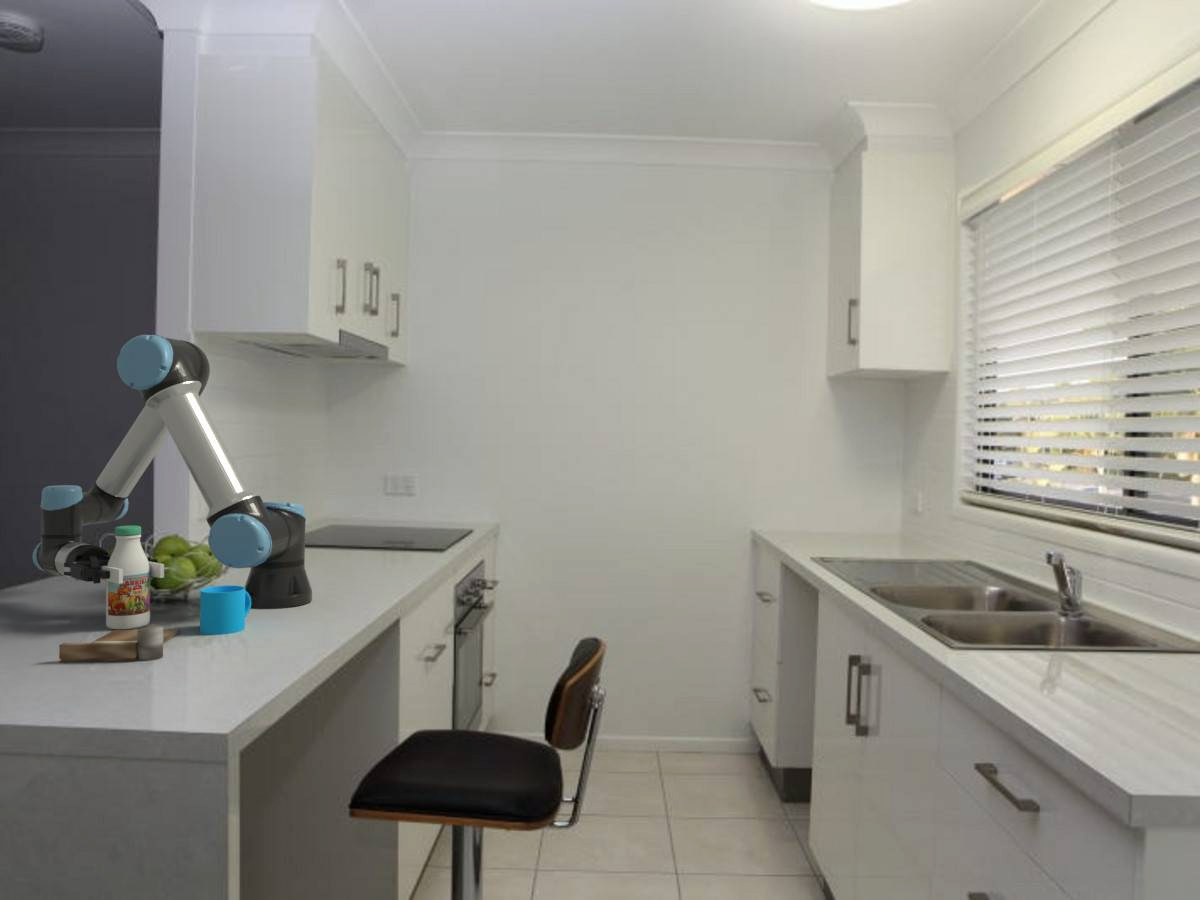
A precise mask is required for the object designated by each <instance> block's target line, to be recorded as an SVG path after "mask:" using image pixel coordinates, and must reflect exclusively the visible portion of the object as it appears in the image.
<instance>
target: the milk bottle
mask: <svg viewBox="0 0 1200 900" xmlns="http://www.w3.org/2000/svg"><path fill="white" fill-rule="evenodd" d="M114 534H115V535H114V538H115V539H116V542H115V546H114V549H113V552H112V553H111V554H110V555H111V557H110V559H109V562H108V565H107V566H109V567H114V568H119V569H123V583H121V584H118V583H113V582H109V581H105V626H106V628H107V629H108V630H109V629H110V630H134V629H139V628H142V627H147V626H148V625H149V624H150V622H151V576H150V568H149V562H148V559H147V557H148V556H147V555H146V554H145V551H144V549H143V546H142V543H141V537H142V527H141V526H140V525H120V526H116V527H115V528H114Z"/></svg>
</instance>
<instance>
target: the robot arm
mask: <svg viewBox="0 0 1200 900" xmlns="http://www.w3.org/2000/svg"><path fill="white" fill-rule="evenodd" d="M116 368H117V369H116V370H117V373H118V375H119V378H120V379H121V380H122V382H123V383H124V384H125V385H127V386H128V387H130V388H131V389H134V390H137V391H138V392H139V393H140V395H141V398H142V399H143V401H144V403H145V406H144V407H143V408H142V410H141V411H140V413H139V415H138V416H137V418H136V419H135V421H134V422H133V424H132V425H131V427H130V428H129V430H128V431H127V433H126V434H125V436H124V438H123V439H122V441H121V442H120V443H119V445H118V447H117V448H116V450H115V452H114V453H113V455H112V456H111V458H110V459H109V461H108V462H107V464H106V465H105V467H104V468H103V470H102V471H101V473H100V474H99V476H98V478H97V479H96V481H95V482H94V483H93V485H92V486H91V488H90V489H89V490H88V491H83V488H82V487H81V486H79V485H74V484H73V485H72V484H71V485H68V484H62V485H59V484H58V485H49V486H48V485H47V486H45V487H43V489H42V491H41V501H40V502H41V503H40V506H39V507H40V534H41V535H40V542H39V543H38V544H37V545H36V546H35V548H34V549H33V552H32V562H33V564H34V565H35V567H36V568H38V570H41V571H43V572H45V573H47V574H49V575H53V576H56V575H57V576H61V577H65V578H71V579H73V580H74V581H75V582H78V581H82V582H87V583H89V582H90V583H91V582H93V584H101V581H105V582H106V581H109V582H113V583H118V584H121V583H123V569H119V568H114V567H109V566H107V565H108V562H109V559H110V557H111V555H112V554H109V553H108V551H107V550H106V549H105V548H103V547H101V546H98V545H94V544H89V543H82V540H83V539H82V536H83V526H91V525H96V524H105V523H106V524H107V523H111V522H114V521H117V520H120V519H121V518H123V517H124V516H125V515H126V513H128V510H129V499H128V497H129V496H130V494H131V493H132V491H133V489H134V487H136V484H137V483H138V482H139V480H140V478H141V477H142V476H143V474H144V473H145V471H146V470H147V468H148V466H149V465H150V464H151V463H152V461H153V459H154V457H155V456H156V455H157V453H158V452H159V450H160V448H161V447H162V446H163V444H164V443H165V442H166V439H167V438H168V437H169V435H170V436H171V438H172V440H173V443H174V444H175V446H176V447H177V450H178V452H179V453H180V455H181V457H182V459H183V460H184V463H185V465H186V467H187V470H189V473H190V474H191V476H192V479H193V481H194V482H195V484H196V486H197V488H198V490H199V492H200V494H201V496H202V497H203V500H204V502H205V503H206V505H207V507H208V512H207V515H206V519H205V520H206V522H207V524H208V526H209V528H210V529H209V533H208V534H209V536H207V537H208V538H207V542H208V543H207V544H208V547H209V550H210V552H211V554H212V555H213V557H215V559H216V560H217V561H218V562H220V563H221V564H222V565H224V566H226V567H229V568H233V569H249V568H250V570H249V573H248V577H247V580H246V582H245V585H244V587H245V591H246V592H247V593H248V594H249V595H250V597H251V608H256V609H257V608H258V609H276V608H277V609H278V608H279V609H281V608H282V609H283V608H289V607H290V608H292V607H297V606H301V605H305V604H308V603H311V602H312V601H313V590H312V587H311V583H310V581H309V580H310V579H309V578H308V574H307V571H306V568H305V567H306V566H305V556H306V554H305V552H306V521H307V517H306V510H305V506H304V505H303V504H301V503H295V502H281V501H263V500H262V497H261V496H260V494H258V493H255V492H251V491H250V489H248V487H247V485H246V483H245V481H244V479H243V477H242V476H241V474H240V472H239V470H238V468H237V465H235V462H234V460H233V458H232V456H231V454H230V452H229V451H228V448H227V446H226V444H225V442H224V441H223V439H222V437H221V435H220V433H219V431H218V429H217V428H216V425H215V424H214V422H213V420H212V418H211V417H210V414H209V412H208V410H207V408H206V407H205V405H204V403H203V401H202V398H201V396H202V394H203V393H204V390H205V389H206V386H207V384H208V381H209V378H210V371H211V369H210V361H209V359H208V356H207V355H206V353H205V352H204V351H203V350H202V349H201V348H200V347H199V346H197V344H195V343H192V342H189V341H186V340H182V339H176V338H175V339H174V338H169V337H164V336H162V335H159V334H141V335H137V336H133V338H131V339H129V340H128V341H127V342H126V343H124V345H123V346H122V347H121V349H120V351H119V355H118V356H117V361H116ZM146 557H147V559H148V562H149V568H150V577H153V578H159V579H162V578H165V564H164V563H161V562H160V563H159V562H158V561H159V560H158V559H157V558H152V557H151V556H149V557H148V556H146Z"/></svg>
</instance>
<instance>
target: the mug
mask: <svg viewBox="0 0 1200 900" xmlns="http://www.w3.org/2000/svg"><path fill="white" fill-rule="evenodd" d="M199 593H200V595H199V599H200V600H199V601H200V602H199V604H200V605H199V632H200V634H204V635H211V636H212V635H213V636H217V635H218V636H221V635H222V636H223V635H230V634H236V633H239V632H242V631H244V630H245V628H246V617H247V616H248V614H249V613H250V610H251V608H252V607H251V597H250V595H249V594H248V593H247V592H246V591H245V586H243V585H242V586H241V585H232V584H231V585H214V586H208V587H204V588H201V589H200V591H199Z"/></svg>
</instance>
